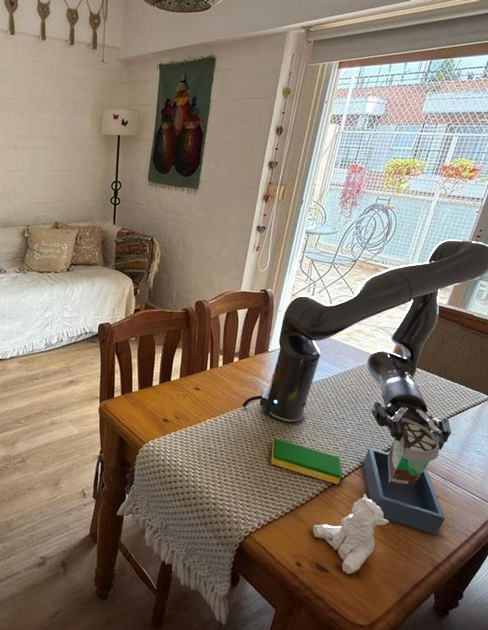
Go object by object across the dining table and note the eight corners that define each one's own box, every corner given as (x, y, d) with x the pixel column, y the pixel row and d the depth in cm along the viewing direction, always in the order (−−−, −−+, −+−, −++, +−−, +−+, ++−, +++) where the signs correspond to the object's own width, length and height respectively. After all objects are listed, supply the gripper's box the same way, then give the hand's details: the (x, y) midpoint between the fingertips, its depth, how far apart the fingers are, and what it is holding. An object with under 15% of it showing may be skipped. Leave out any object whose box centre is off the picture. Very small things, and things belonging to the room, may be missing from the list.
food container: (427, 501, 86) (446, 462, 82) (389, 487, 89) (406, 449, 85) (421, 463, 95) (438, 426, 91) (387, 452, 98) (402, 416, 94)
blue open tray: (372, 514, 90) (380, 498, 88) (362, 462, 103) (368, 447, 101) (436, 534, 85) (445, 518, 84) (417, 478, 99) (424, 463, 97)
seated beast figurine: (308, 531, 85) (325, 484, 80) (345, 523, 87) (364, 478, 82) (347, 576, 77) (368, 528, 72) (386, 567, 79) (410, 519, 74)
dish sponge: (272, 445, 108) (274, 437, 107) (336, 464, 102) (339, 456, 101) (271, 464, 102) (273, 456, 101) (338, 485, 96) (341, 476, 96)
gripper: (372, 377, 105) (383, 417, 91) (446, 394, 99) (470, 438, 85) (362, 403, 108) (371, 445, 94) (434, 420, 102) (454, 468, 88)
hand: (418, 442), depth 90 cm, fingers closed on food container, 6 cm apart
